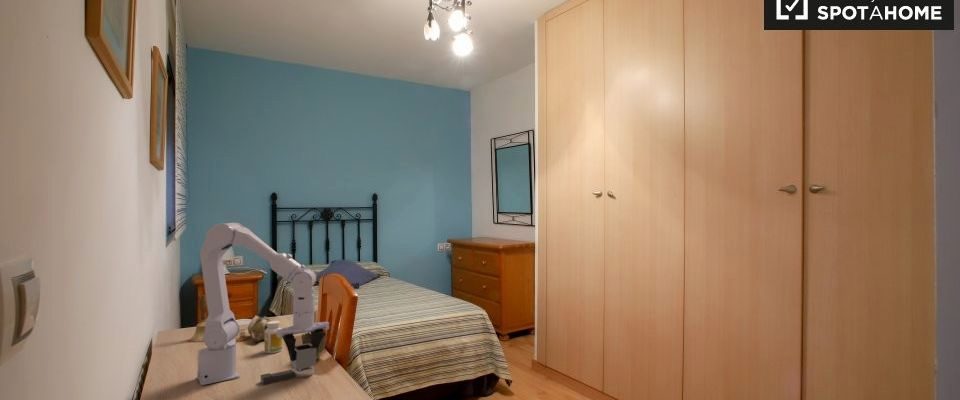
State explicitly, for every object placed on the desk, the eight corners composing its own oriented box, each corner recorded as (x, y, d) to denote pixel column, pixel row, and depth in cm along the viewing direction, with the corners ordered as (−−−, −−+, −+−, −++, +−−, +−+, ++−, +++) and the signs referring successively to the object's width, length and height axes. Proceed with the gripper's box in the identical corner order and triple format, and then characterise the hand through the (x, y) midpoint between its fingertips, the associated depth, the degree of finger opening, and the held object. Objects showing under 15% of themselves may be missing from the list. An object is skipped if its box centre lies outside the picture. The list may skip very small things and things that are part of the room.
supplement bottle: (285, 348, 157) (285, 320, 157) (276, 354, 151) (276, 324, 151) (270, 348, 157) (270, 319, 157) (261, 353, 152) (261, 323, 152)
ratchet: (264, 386, 124) (264, 368, 124) (259, 380, 129) (259, 362, 129) (317, 374, 133) (317, 357, 133) (309, 368, 138) (310, 352, 138)
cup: (331, 357, 148) (331, 332, 148) (312, 364, 142) (312, 338, 142) (315, 353, 152) (315, 329, 152) (296, 360, 146) (296, 334, 146)
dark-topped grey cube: (296, 369, 130) (296, 351, 130) (290, 363, 134) (290, 346, 134) (316, 365, 134) (316, 347, 134) (309, 359, 138) (309, 343, 138)
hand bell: (212, 341, 164) (212, 296, 164) (186, 342, 162) (186, 297, 162) (219, 334, 172) (220, 292, 172) (195, 336, 170) (195, 293, 170)
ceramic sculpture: (270, 308, 177) (286, 318, 167) (269, 330, 177) (285, 341, 167) (240, 313, 169) (255, 323, 159) (240, 336, 170) (255, 348, 159)
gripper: (281, 317, 126) (281, 367, 126) (333, 310, 135) (332, 356, 135) (274, 312, 132) (274, 360, 132) (324, 305, 141) (324, 350, 141)
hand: (303, 357), depth 134 cm, fingers closed on dark-topped grey cube, 6 cm apart
